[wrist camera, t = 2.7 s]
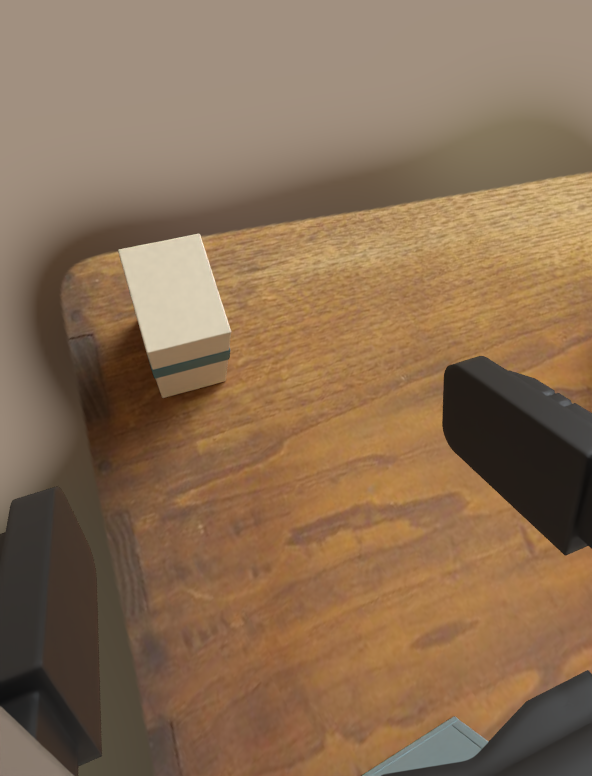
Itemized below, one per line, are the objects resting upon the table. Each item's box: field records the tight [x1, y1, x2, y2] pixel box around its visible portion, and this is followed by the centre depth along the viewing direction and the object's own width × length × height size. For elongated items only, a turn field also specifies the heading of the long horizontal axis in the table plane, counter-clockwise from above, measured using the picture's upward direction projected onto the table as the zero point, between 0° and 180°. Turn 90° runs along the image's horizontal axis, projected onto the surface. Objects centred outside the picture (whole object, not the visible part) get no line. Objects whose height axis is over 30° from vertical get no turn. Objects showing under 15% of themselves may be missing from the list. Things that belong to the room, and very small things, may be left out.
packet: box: [118, 234, 231, 398], centre depth 31 cm, size 4×6×9 cm
